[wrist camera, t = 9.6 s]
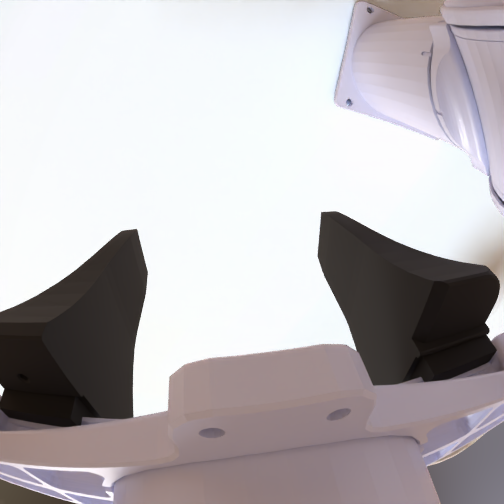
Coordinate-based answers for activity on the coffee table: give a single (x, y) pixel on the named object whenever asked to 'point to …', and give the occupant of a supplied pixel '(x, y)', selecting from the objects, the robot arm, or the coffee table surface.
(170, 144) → the coffee table surface
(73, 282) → the robot arm
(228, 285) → the coffee table surface
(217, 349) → the coffee table surface
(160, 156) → the coffee table surface
